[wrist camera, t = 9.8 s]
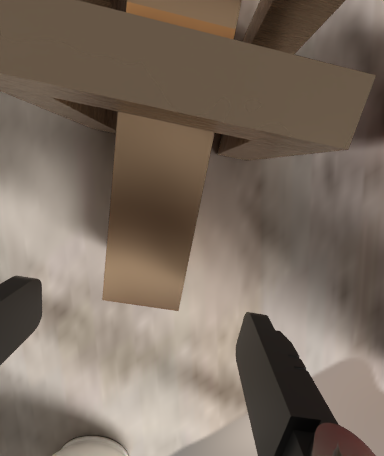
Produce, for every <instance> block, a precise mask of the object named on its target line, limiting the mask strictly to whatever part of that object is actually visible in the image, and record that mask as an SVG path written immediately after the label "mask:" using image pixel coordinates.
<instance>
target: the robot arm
mask: <svg viewBox="0 0 384 456" xmlns="http://www.w3.org/2000/svg"><path fill="white" fill-rule="evenodd" d="M41 317H42V285H41V281H40V280H39V279H35V278H28V277H22V276H14V277H11V278H10V279H8V280H6V281H5V282H3V283H1V284H0V365H1V364H2V363H3V362H4V361H5V360H6V359H7V358H8V357H9V356H10V355H11V354H12V353H13V352H14V351H15V350H16V349H17V348H18V347H19V346H20V345H21V344H22V343H23V342H24V341H25V340H26V339H27V338H28V337H29V336H30V335H31V334H32V333H33V332H34V331H35V329H36V328H37V326H38V325H39V323H40V320H41ZM236 362H237V366H238V370H239V375H240V379H241V384H242V388H243V392H244V397H245V401H246V405H247V410H248V414H249V418H250V423H251V427H252V432H253V436H254V440H255V445H256V449H257V453H258V456H376V455H375V454H374V453H373V452H372V451H371V450H370V448H369V447H368V446H367V445H365V443H364V442H363V441H362V440H360V439H359V438H358V437H357V436H356V435H354V434H353V433H352V432H350V431H349V430H347V429H345V428H344V427H341V426H340V425H338V423H337V421H336V420H335V418H334V416H333V414H332V413H331V411H330V409H329V407H328V406H327V404H326V402H325V400H324V399H323V397H322V395H321V393H320V392H319V390H318V388H317V386H316V385H315V383H314V381H313V379H312V378H311V376H310V374H309V372H308V371H306V367H305V365H304V364H303V362H302V360H301V359H299V355H298V353H297V351H296V350H295V348H294V346H293V344H292V343H291V342H290V341H289V340H288V339H287V338H286V337H285V336H284V335H283V334H282V333H281V332H280V331H276V330H275V329H274V327H273V325H272V323H271V321H270V319H269V318H268V316H267V315H262V314H256V313H250V312H247V313H246V314H245V316H244V319H243V323H242V326H241V330H240V333H239V337H238V340H237V344H236Z"/></svg>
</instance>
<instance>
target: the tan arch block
mask: <svg viewBox="0 0 384 456" xmlns="http://www.w3.org/2000/svg"><path fill="white" fill-rule="evenodd" d="M344 1H345V0H260V2H259V4H258V7H257V9H256V11H255V14H254V16H253V18H252V20H251V23H250V25H249V27H248V29H247V32H246V34H245V36H244V38H243V41H238V40H234V39H230V38H226V37H222V36H218V35H214V34H210V33H206V32H202V31H198V30H194V29H190V28H186V27H182V26H178V25H174V24H170V23H166V22H162V21H158V20H154V19H150V18H146V17H142V16H138V15H134V14H130V13H127V12H126V7H127V0H0V91H2V92H4V93H7V94H9V95H11V96H14V97H16V98H19V99H21V100H24V101H26V102H29V103H31V104H33V105H36V106H38V107H41V108H43V109H46V110H48V111H51V112H53V113H55V114H58V115H60V116H63V117H65V118H68V119H70V120H73V121H75V122H77V123H80V124H82V125H85V126H87V127H90V128H92V129H96V130H101V131H106V132H111V133H115V134H116V128H117V116H118V112H122V113H127V114H131V115H136V116H141V117H145V118H150V119H154V120H159V121H164V122H168V123H173V124H178V125H182V126H187V127H192V128H196V129H201V130H206V131H210V132H215V133H220V134H222V135H221V140H220V145H219V149H218V154H217V155H222V156H227V157H231V158H236V159H241V160H246V161H248V160H257V159H267V158H276V157H285V156H294V155H303V154H313V153H322V152H331V151H340V150H348V149H349V146H350V144H351V141H352V138H353V136H354V133H355V130H356V128H357V125H358V122H359V120H360V117H361V114H362V112H363V109H364V106H365V104H366V101H367V98H368V96H369V93H370V90H371V88H372V85H373V82H374V80H375V77H376V75H373V74H369V73H365V72H361V71H357V70H353V69H349V68H345V67H341V66H337V65H333V64H329V63H325V62H321V61H317V60H313V59H309V58H305V57H301V56H297V55H294V54H295V53H296V52H297V51H298V50H299V49H300V48H301V47H302V46H303V44H304V43H305V42H306V41H307V40H308V39H309V38H310V37H311V36H312V35H313V34H314V33H315V32H316V31H317V30H318V29H319V28H320V27H321V26H322V25H323V23H324V22H325V21H326V20H327V19H328V18H329V17H330V16H331V15H332V14H333V13H334V12H335V11H336V10H337V9H338V8H339V7H340V6H341V5H342V4H343V2H344Z"/></svg>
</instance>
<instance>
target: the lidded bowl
mask: <svg viewBox="0 0 384 456" xmlns="http://www.w3.org/2000/svg"><path fill="white" fill-rule="evenodd" d="M52 456H128V453H127V451H126V450H125V448H124V447H123V446H121V445H120V444H119V443H117V442H116V441H114V440H111V439H109V438H105V437H100V436H83V437H78V438H75V439H73V440H71V441H69V442H67V443H66V444H65V445H64V446H63V447H62V449H61V450H60V451H58V452H56V453H55V454H53V455H52Z"/></svg>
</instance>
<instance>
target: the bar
mask: <svg viewBox="0 0 384 456" xmlns="http://www.w3.org/2000/svg"><path fill="white" fill-rule="evenodd" d="M240 5H241V0H127V7H126V12H127V13H130V14H134V15H138V16H142V17H146V18H150V19H154V20H158V21H162V22H166V23H170V24H174V25H178V26H182V27H186V28H190V29H194V30H198V31H202V32H206V33H210V34H214V35H218V36H222V37H226V38H230V39H234V35H235V30H236V25H237V20H238V15H239V10H240ZM214 133H215V132H210V131H206V130H201V129H196V128H192V127H187V126H182V125H178V124H173V123H168V122H164V121H159V120H154V119H150V118H145V117H141V116H136V115H131V114H127V113H122V112H118V116H117V128H116V140H115V153H114V165H113V177H112V189H111V201H110V213H109V225H108V237H107V250H106V262H105V274H104V286H103V298H102V300H106V301H113V302H120V303H127V304H134V305H140V306H147V307H154V308H161V309H168V310H175V311H178V310H179V305H180V300H181V295H182V290H183V285H184V280H185V276H186V271H187V266H188V261H189V256H190V251H191V246H192V241H193V236H194V231H195V226H196V221H197V217H198V212H199V207H200V202H201V197H202V192H203V187H204V182H205V177H206V172H207V167H208V162H209V158H210V153H211V148H212V143H213V138H214Z"/></svg>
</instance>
